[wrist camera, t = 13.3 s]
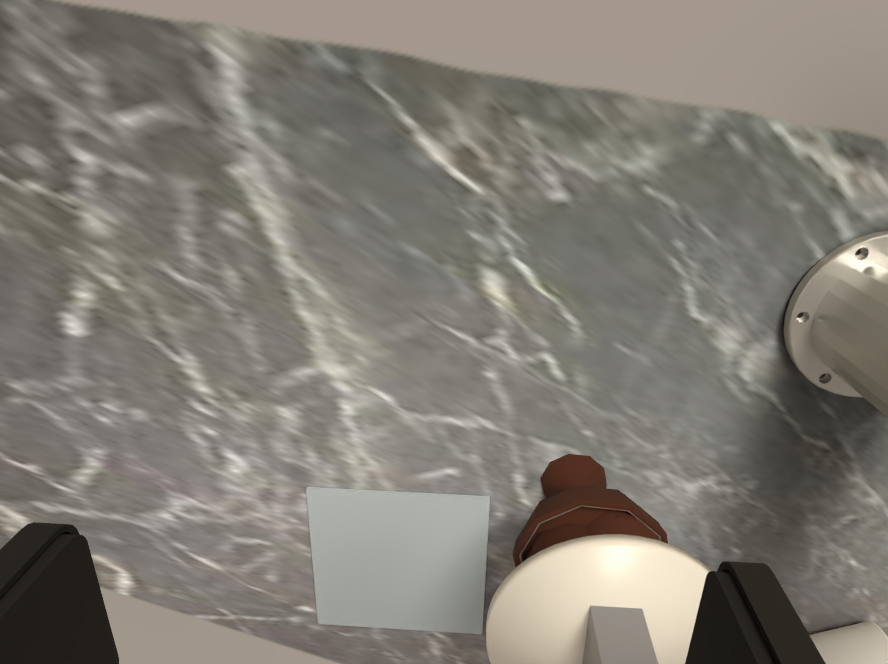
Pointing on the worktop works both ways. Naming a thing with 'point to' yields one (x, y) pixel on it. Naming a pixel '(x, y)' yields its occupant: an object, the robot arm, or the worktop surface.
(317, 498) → the mat
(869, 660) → the mug
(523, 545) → the ice cream bowl
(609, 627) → the lid
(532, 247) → the worktop surface
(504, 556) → the worktop surface
